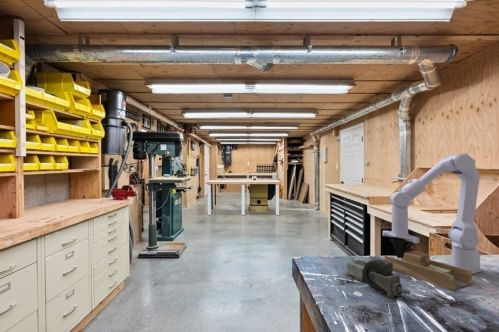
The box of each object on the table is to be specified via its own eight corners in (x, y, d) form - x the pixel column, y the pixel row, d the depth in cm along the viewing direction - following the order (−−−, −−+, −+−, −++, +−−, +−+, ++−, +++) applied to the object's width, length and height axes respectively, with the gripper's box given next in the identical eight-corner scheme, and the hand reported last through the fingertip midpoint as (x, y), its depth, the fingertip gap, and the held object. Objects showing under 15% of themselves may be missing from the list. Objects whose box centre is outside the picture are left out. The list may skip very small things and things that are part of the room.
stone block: (344, 274, 109) (344, 260, 109) (374, 269, 114) (374, 255, 114) (362, 283, 100) (362, 267, 101) (393, 277, 106) (393, 262, 106)
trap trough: (403, 263, 120) (403, 252, 120) (471, 284, 98) (471, 271, 98) (384, 267, 115) (384, 255, 115) (452, 290, 93) (452, 276, 93)
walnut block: (414, 261, 113) (414, 250, 113) (429, 265, 108) (429, 254, 108) (404, 263, 111) (403, 252, 111) (419, 268, 105) (419, 257, 105)
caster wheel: (361, 289, 97) (403, 302, 84) (358, 259, 98) (399, 267, 85) (373, 285, 100) (415, 298, 87) (370, 256, 101) (412, 264, 88)
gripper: (377, 220, 120) (377, 254, 120) (410, 227, 107) (410, 264, 107) (389, 219, 123) (389, 251, 123) (422, 225, 110) (423, 261, 110)
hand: (400, 257), depth 115 cm, fingers closed
